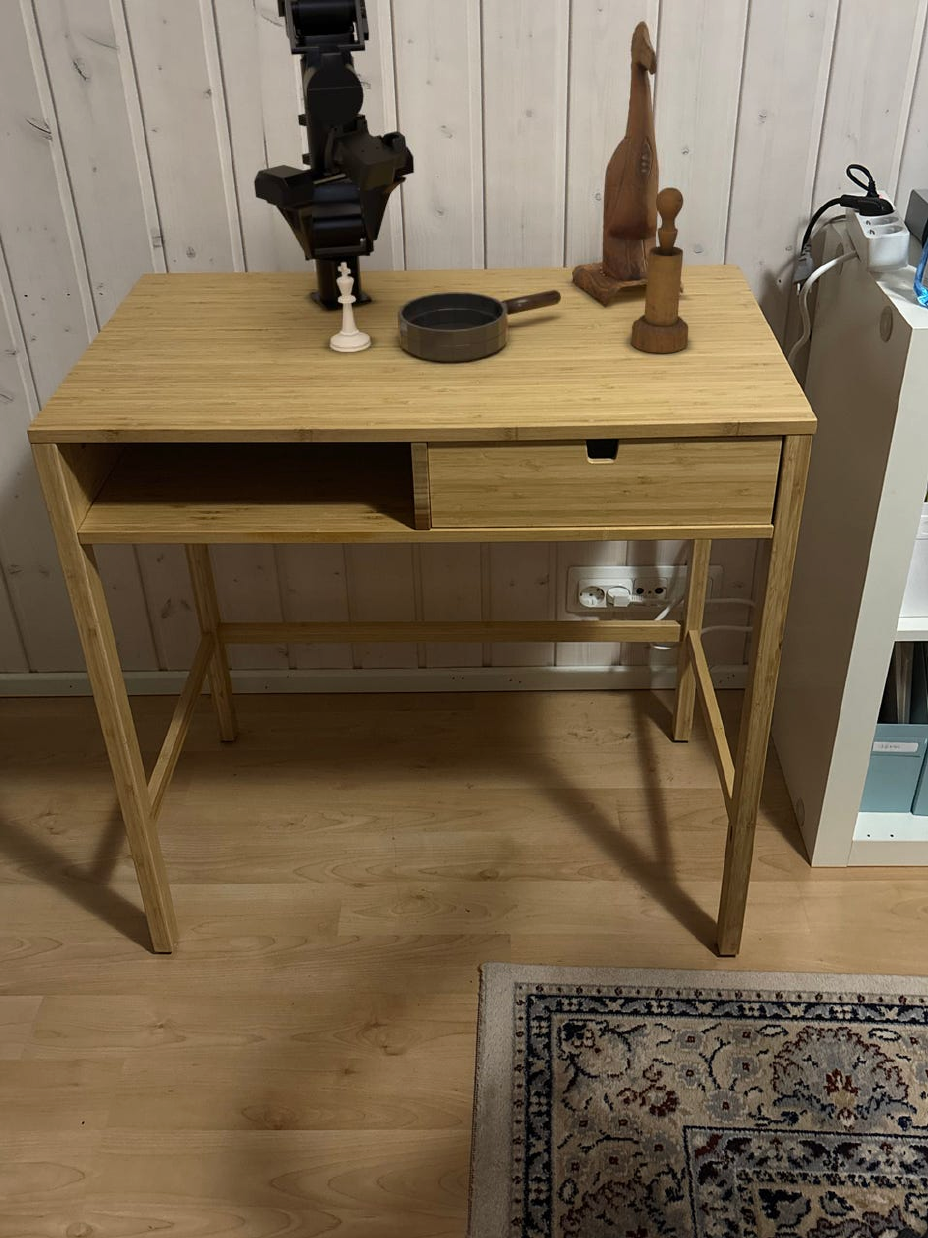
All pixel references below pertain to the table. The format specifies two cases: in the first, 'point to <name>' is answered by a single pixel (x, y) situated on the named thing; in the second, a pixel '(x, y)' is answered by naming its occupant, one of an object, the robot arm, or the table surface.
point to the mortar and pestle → (663, 285)
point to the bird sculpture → (629, 188)
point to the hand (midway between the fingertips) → (342, 248)
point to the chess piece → (348, 318)
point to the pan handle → (530, 302)
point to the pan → (452, 326)
